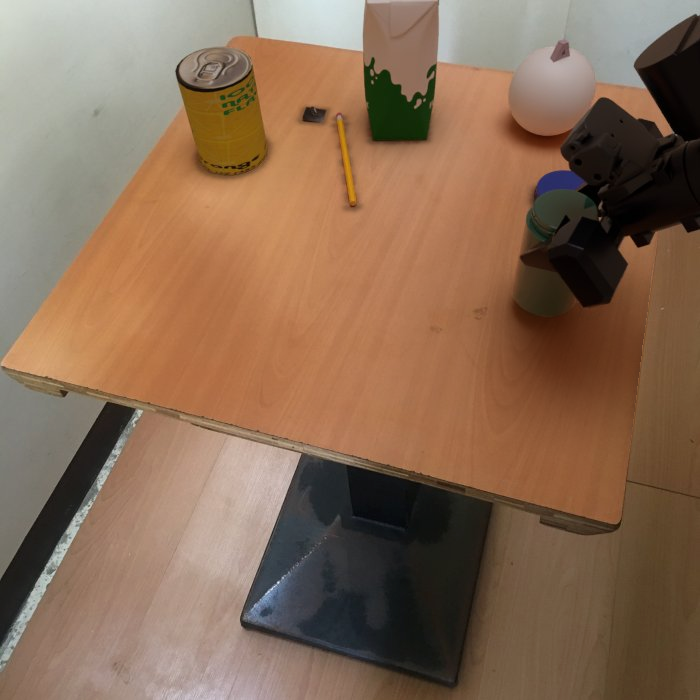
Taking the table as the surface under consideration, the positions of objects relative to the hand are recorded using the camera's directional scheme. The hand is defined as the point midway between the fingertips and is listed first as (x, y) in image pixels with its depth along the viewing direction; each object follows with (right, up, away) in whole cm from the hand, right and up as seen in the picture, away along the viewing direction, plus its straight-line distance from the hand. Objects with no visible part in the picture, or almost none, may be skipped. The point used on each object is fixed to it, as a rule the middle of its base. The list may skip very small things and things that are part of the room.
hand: (536, 237), depth 60 cm
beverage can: (-33, +15, +25) cm, 44 cm away
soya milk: (-11, +20, +27) cm, 35 cm away
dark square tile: (-22, +22, +29) cm, 42 cm away
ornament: (+8, +19, +25) cm, 32 cm away
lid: (+8, +8, +15) cm, 19 cm away
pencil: (-18, +14, +23) cm, 32 cm away
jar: (+2, -5, +5) cm, 7 cm away
